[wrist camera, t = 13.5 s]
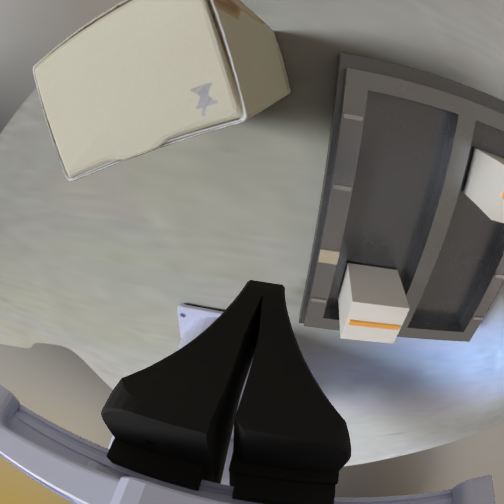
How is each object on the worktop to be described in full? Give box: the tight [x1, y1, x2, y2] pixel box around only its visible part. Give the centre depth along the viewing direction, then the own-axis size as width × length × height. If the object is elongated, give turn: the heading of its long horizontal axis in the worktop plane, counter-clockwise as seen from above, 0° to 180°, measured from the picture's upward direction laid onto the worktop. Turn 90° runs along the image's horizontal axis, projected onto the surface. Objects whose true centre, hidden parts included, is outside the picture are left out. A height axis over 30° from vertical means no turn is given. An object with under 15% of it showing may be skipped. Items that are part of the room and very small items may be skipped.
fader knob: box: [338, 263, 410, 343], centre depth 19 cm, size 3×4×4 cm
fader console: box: [299, 53, 504, 341], centre depth 18 cm, size 19×15×2 cm
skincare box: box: [33, 0, 291, 181], centre depth 12 cm, size 6×4×12 cm
